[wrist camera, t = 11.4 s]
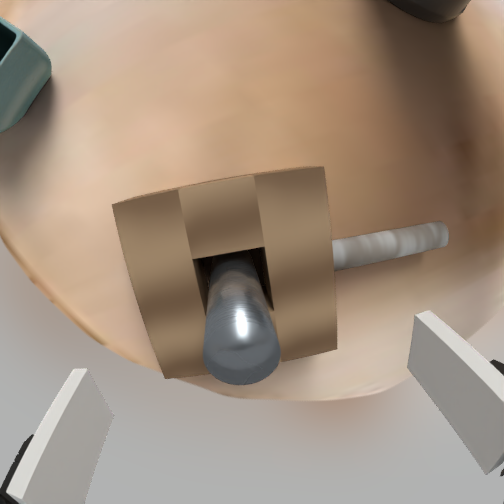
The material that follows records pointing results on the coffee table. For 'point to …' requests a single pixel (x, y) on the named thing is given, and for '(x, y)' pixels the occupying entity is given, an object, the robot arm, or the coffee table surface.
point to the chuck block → (242, 238)
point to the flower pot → (19, 73)
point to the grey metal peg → (238, 323)
